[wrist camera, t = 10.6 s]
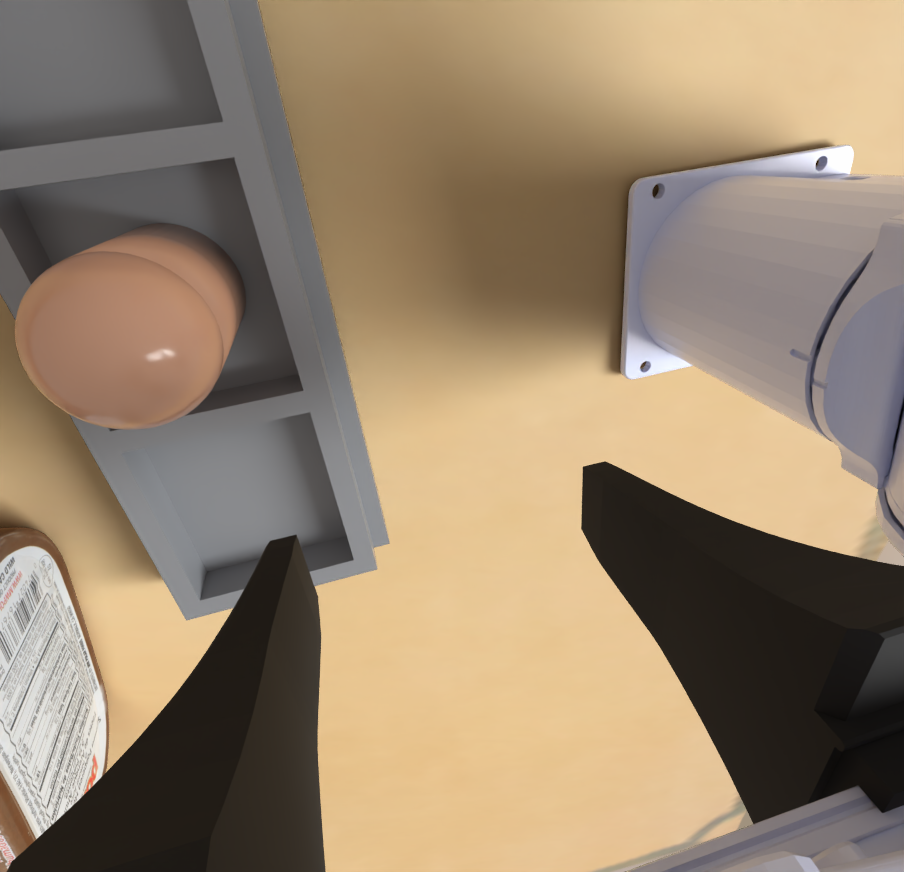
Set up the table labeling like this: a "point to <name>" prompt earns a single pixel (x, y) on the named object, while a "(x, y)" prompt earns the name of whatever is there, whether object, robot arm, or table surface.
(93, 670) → the tin
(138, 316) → the tan rounded cylinder
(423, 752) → the table surface
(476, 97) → the table surface
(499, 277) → the table surface
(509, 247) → the table surface
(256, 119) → the grey compartment tray
